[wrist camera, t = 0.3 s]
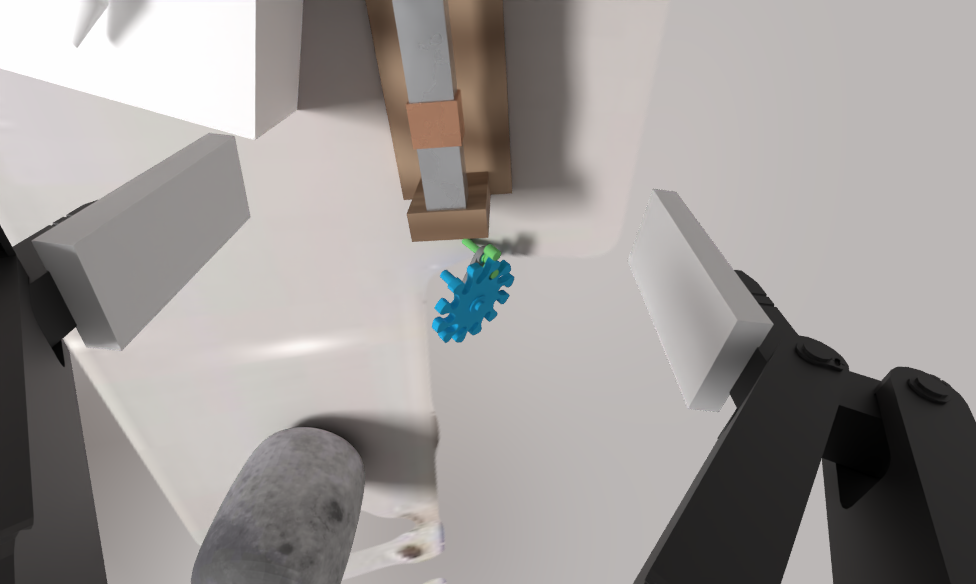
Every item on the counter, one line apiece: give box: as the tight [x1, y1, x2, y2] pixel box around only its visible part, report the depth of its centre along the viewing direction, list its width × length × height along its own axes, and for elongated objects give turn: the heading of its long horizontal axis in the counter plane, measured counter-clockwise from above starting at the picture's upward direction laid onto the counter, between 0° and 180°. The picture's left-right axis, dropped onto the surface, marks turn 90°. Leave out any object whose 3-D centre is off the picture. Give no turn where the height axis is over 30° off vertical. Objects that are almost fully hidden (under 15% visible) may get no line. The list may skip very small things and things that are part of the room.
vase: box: [191, 427, 365, 584], centre depth 54 cm, size 16×16×30 cm
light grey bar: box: [392, 0, 469, 211], centre depth 30 cm, size 25×3×3 cm, turn 4°
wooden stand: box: [365, 0, 512, 242], centre depth 32 cm, size 27×10×9 cm, turn 4°
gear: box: [432, 239, 514, 343], centre depth 47 cm, size 11×6×10 cm
